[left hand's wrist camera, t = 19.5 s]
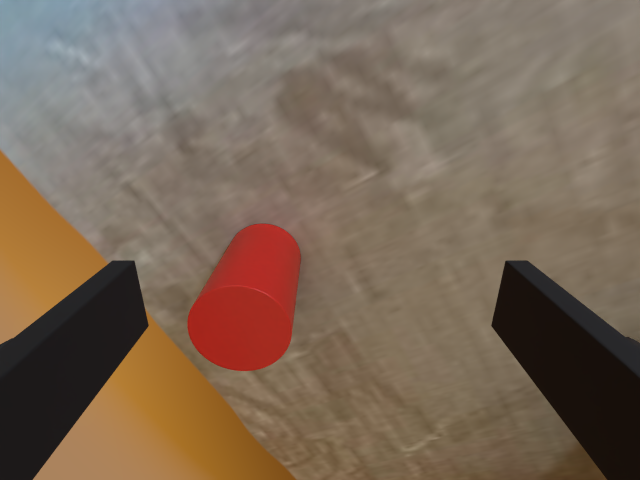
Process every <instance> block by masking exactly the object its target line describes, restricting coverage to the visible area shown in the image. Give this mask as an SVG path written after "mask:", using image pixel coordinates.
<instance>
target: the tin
mask: <svg viewBox="0 0 640 480" xmlns="http://www.w3.org/2000/svg"><path fill="white" fill-rule="evenodd" d="M300 262H301V255H300V250H299V247H298V245H297V243H296V241H295V240H294V238H293V237H292V236H291V235H290V234H289V233H288V232H286V231H285V230H283V229H281V228H280V227H277V226H274V225H270V224H255V225H251V226H248V227H246V228H244V229H242V230H241V231H240V232H239V233H238V234H237V235H236V236H235V237H234V238H233V240H232V241H231V243H230V245H229V246H228V248H227V250H226V251H225V253H224V255H223V256H222V258H221V260H220V261H219V263H218V265H217V266H216V268H215V270H214V271H213V273H212V275H211V276H210V278H209V280H208V281H207V283H206V285H205V286H204V288H203V290H202V291H201V293H200V295H199V296H198V298H197V300H196V301H195V303H194V305H193V306H192V308H191V310H190V313H189V316H188V332H189V336H190V339H191V341H192V343H193V345H194V346H195V348H196V349H197V350H198V351H199V352H200V353H201V354H202V355H203V356H204V357H205V358H206V359H208V360H209V361H211V362H212V363H214V364H216V365H218V366H221V367H224V368H227V369H231V370H237V371H252V370H257V369H261V368H264V367H267V366H269V365H271V364H273V363H274V362H276V361H277V360H278V359H279V358H280V357H281V356H282V355H283V354H284V353H285V351H286V350H287V348H288V346H289V344H290V341H291V336H292V328H293V320H294V311H295V303H296V295H297V286H298V278H299V270H300Z"/></svg>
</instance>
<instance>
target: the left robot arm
mask: <svg viewBox="0 0 640 480" xmlns="http://www.w3.org/2000/svg"><path fill="white" fill-rule="evenodd" d="M491 326H492V327H493V329H494V330H495V331H496V333H497V334H498V335H499V337H500V338H501V339H502V341H503V342H504V343H505V345H506V346H507V347H508V349H509V350H510V351H511V353H512V354H513V355H514V357H515V358H516V359H517V360H518V362H519V363H520V364H521V366H522V367H523V368H524V370H525V371H526V372H527V374H528V375H529V376H530V378H531V379H532V380H533V382H534V383H535V384H536V386H537V387H538V388H539V390H540V391H541V392H542V394H543V395H544V396H545V398H546V399H547V400H548V402H549V403H550V404H551V406H552V407H553V408H554V410H555V411H556V412H557V413H558V415H559V416H560V417H561V419H562V420H563V421H564V423H565V424H566V425H567V427H568V428H569V429H570V431H571V432H572V433H573V435H574V436H575V437H576V439H577V440H578V441H579V443H580V444H581V445H582V447H583V448H584V449H585V451H586V452H587V453H588V455H589V456H590V457H591V459H592V460H593V461H594V463H595V464H596V465H597V467H598V468H599V469H600V470H601V472H602V473H603V474H604V476H605V477H606V478H607V480H640V343H639V342H637V341H635V340H633V339H631V338H629V337H624V336H623V335H622V334H621V333H619V332H618V331H617V330H615V329H614V328H613V327H612V326H610V325H609V324H608V323H606V322H605V321H604V320H603V319H601V318H600V317H599V316H597V315H596V314H595V313H594V312H592V311H591V310H590V309H589V308H587V307H586V306H585V305H583V304H582V303H581V302H580V301H578V300H577V299H576V298H574V297H573V296H572V295H571V294H569V293H568V292H567V291H565V290H564V289H563V288H562V287H560V286H559V285H558V284H557V283H555V282H554V281H553V280H551V279H550V278H549V277H548V276H546V275H545V274H544V273H542V272H541V271H540V270H539V269H537V268H536V267H535V266H533V265H532V264H531V263H530V262H528V261H505V266H504V270H503V275H502V280H501V284H500V289H499V293H498V298H497V303H496V307H495V312H494V316H493V321H492V325H491ZM147 327H148V321H147V316H146V312H145V307H144V303H143V298H142V293H141V289H140V284H139V280H138V275H137V271H136V266H135V261H112V262H110V263H109V264H108V265H107V266H105V267H104V268H103V269H101V270H100V271H99V272H98V273H96V274H95V275H94V276H92V277H91V278H90V279H89V280H87V281H86V282H85V283H84V284H82V285H81V286H80V287H78V288H77V289H76V290H75V291H73V292H72V293H71V294H69V295H68V296H67V297H66V298H64V299H63V300H62V301H60V302H59V303H58V304H57V305H55V306H54V307H53V308H52V309H50V310H49V311H48V312H46V313H45V314H44V315H43V316H41V317H40V318H39V319H37V320H36V321H35V322H34V323H32V324H31V325H30V326H28V327H27V328H26V329H25V330H23V331H22V332H21V333H20V334H18V335H17V336H16V337H14V338H12V339H10V340H8V341H6V342H4V343H2V344H0V480H33V478H34V477H35V476H36V474H37V473H38V472H39V470H40V469H41V468H42V467H43V465H44V464H45V463H46V461H47V460H48V459H49V457H50V456H51V454H52V453H53V452H54V451H55V449H56V448H57V447H58V445H59V444H60V443H61V441H62V440H63V439H64V437H65V436H66V435H67V433H68V432H69V431H70V429H71V428H72V427H73V425H74V424H75V423H76V421H77V420H78V419H79V417H80V416H81V415H82V413H83V412H84V411H85V409H86V408H87V407H88V406H89V404H90V403H91V402H92V400H93V399H94V398H95V396H96V395H97V394H98V392H99V391H100V390H101V388H102V387H103V386H104V384H105V383H106V382H107V380H108V379H109V378H110V376H111V375H112V374H113V372H114V371H115V370H116V368H117V367H118V366H119V364H120V363H121V362H122V360H123V359H124V358H125V356H126V355H127V354H128V352H129V351H130V350H131V348H132V347H133V346H134V345H135V343H136V342H137V341H138V339H139V338H140V337H141V335H142V334H143V333H144V331H145V330H146V329H147Z"/></svg>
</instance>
